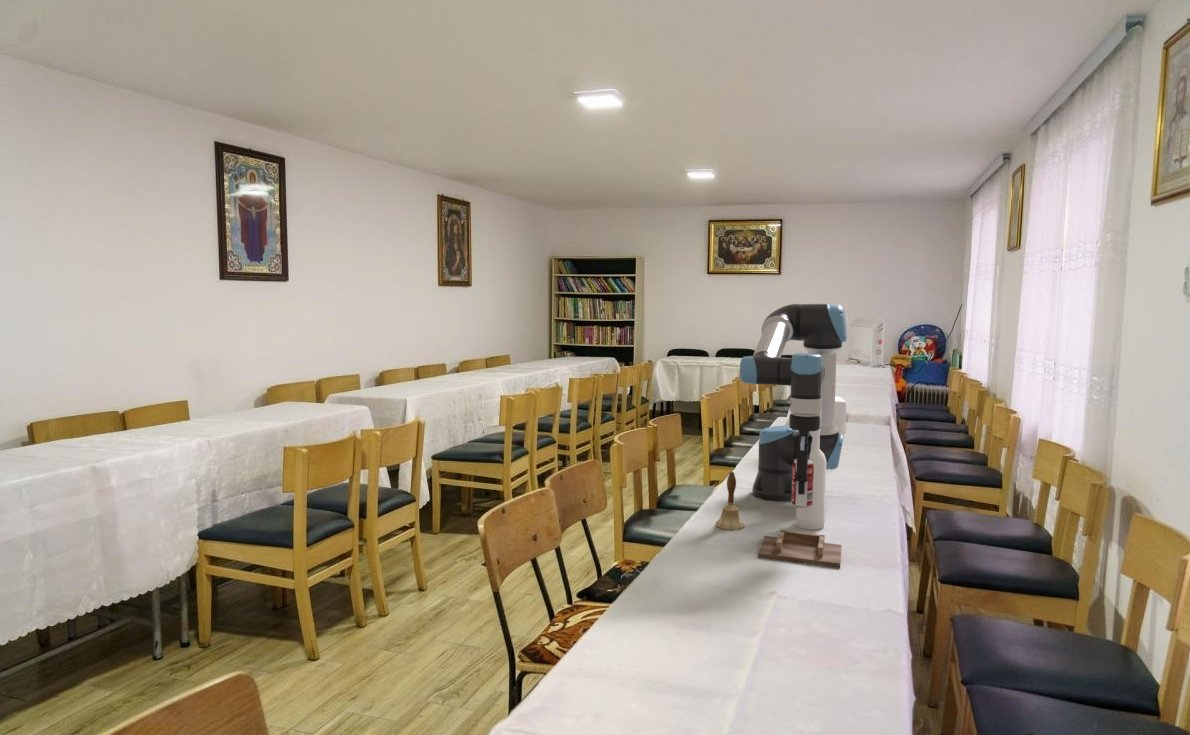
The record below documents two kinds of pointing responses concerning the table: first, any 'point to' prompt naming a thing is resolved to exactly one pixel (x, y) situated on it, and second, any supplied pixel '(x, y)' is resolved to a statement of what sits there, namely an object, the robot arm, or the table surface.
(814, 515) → the bottle
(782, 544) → the can rest
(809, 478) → the soda can
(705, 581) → the table surface
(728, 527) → the hand bell
